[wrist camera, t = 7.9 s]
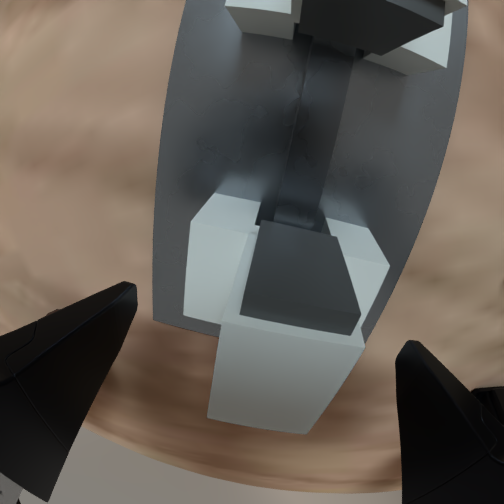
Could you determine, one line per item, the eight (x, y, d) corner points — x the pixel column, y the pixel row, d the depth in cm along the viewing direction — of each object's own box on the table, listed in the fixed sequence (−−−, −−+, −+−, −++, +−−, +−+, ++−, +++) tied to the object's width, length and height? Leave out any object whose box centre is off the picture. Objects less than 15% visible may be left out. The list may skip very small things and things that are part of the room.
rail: (352, 354, 16) (358, 387, 14) (156, 313, 17) (140, 343, 14) (462, -15, 6) (488, -29, 4) (217, -80, 6) (204, -106, 4)
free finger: (339, 301, 14) (362, 437, 7) (203, 272, 14) (145, 400, 8) (372, 215, 12) (446, 335, 5) (216, 179, 12) (131, 273, 5)
